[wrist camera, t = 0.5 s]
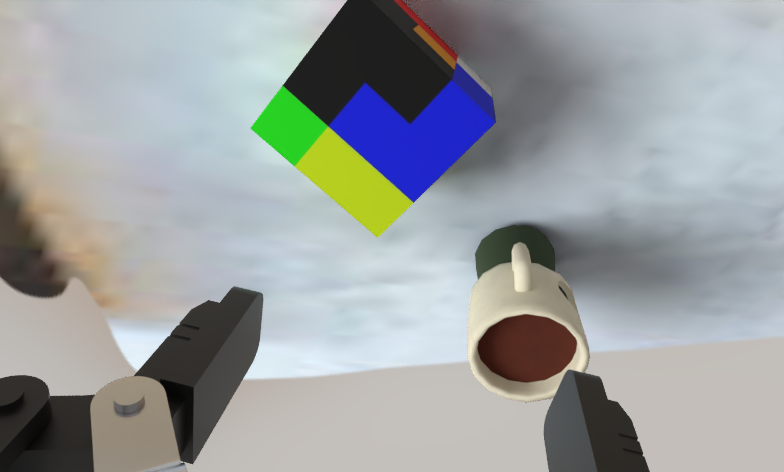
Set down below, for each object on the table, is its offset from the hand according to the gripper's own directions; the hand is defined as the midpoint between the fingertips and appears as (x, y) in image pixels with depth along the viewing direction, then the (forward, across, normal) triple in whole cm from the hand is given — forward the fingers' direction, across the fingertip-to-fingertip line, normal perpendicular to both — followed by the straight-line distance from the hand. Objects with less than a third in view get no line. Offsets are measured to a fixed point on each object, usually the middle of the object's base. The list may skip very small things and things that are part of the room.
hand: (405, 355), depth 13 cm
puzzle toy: (+28, +4, 0) cm, 28 cm away
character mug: (+28, -8, +10) cm, 31 cm away
